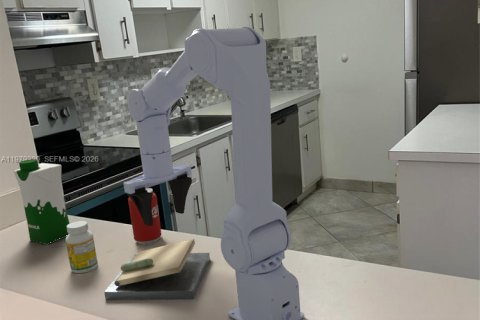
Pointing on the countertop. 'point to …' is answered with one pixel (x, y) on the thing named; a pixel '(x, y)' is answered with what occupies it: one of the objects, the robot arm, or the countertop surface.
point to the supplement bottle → (81, 247)
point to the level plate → (156, 262)
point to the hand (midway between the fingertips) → (164, 218)
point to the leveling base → (164, 283)
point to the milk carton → (43, 200)
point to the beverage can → (140, 230)
